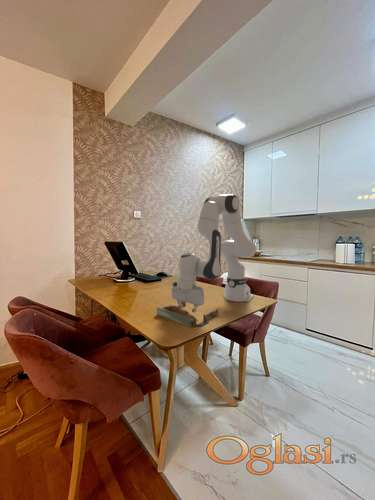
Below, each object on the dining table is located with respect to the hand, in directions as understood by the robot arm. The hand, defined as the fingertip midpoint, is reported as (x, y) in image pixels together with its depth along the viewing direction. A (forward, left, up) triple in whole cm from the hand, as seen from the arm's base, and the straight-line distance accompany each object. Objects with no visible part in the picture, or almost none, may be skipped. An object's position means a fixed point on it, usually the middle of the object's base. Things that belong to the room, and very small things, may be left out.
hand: (187, 310), depth 117 cm
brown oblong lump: (+3, 0, -3) cm, 5 cm away
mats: (+1, -1, -3) cm, 3 cm away
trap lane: (0, 0, -3) cm, 3 cm away
